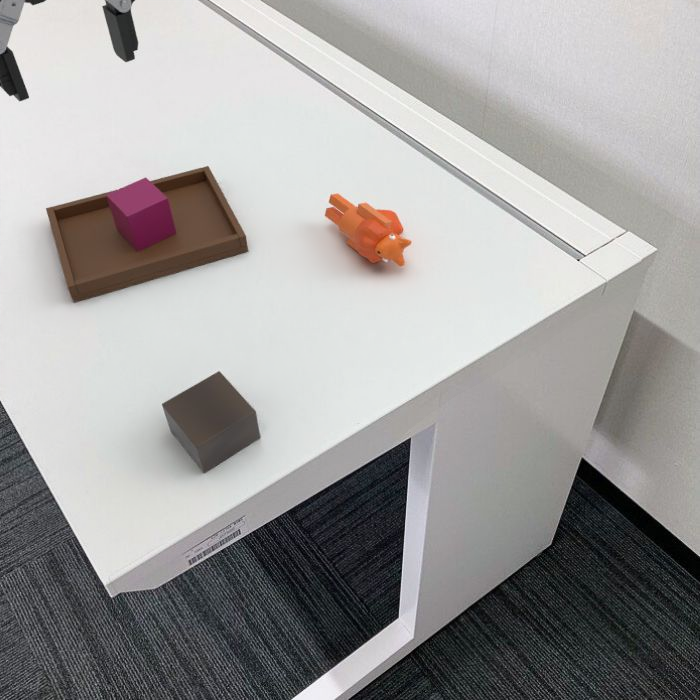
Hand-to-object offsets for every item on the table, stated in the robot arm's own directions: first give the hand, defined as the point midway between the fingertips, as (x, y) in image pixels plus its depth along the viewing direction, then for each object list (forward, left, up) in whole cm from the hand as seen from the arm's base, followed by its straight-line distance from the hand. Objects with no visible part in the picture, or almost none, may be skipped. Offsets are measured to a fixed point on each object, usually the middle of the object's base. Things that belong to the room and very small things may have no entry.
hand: (73, 76), depth 57 cm
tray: (+3, +15, -28) cm, 32 cm away
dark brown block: (+2, -15, -28) cm, 32 cm away
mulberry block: (+3, +15, -27) cm, 31 cm away
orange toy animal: (+26, +3, -28) cm, 39 cm away
